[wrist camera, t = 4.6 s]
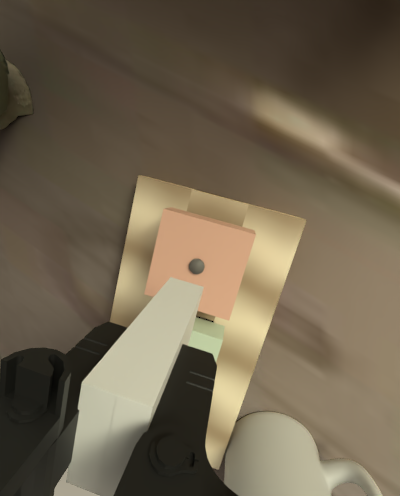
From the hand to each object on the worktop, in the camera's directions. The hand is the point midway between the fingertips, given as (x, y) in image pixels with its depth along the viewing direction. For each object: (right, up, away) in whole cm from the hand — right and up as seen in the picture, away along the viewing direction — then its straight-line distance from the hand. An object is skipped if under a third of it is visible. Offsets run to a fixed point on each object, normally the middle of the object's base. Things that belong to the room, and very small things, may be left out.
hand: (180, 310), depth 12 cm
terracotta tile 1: (+1, +2, +10) cm, 10 cm away
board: (0, -4, +13) cm, 14 cm away
